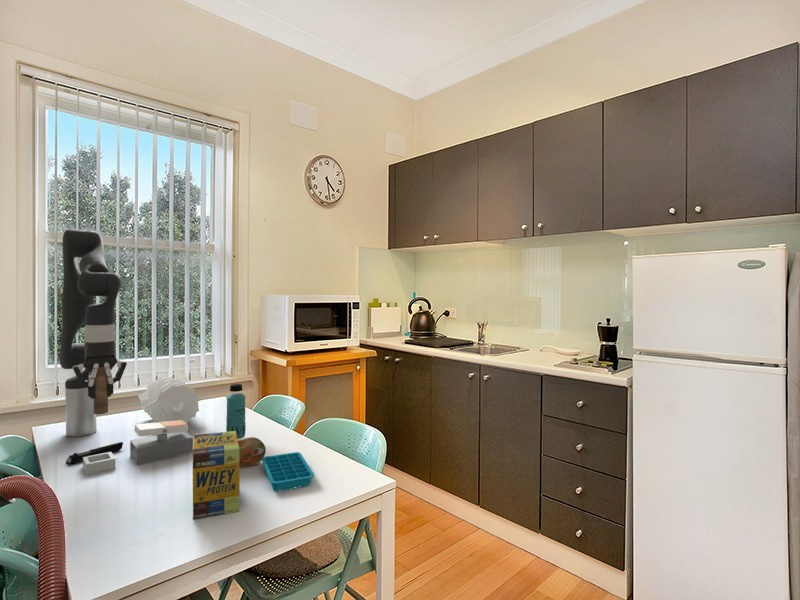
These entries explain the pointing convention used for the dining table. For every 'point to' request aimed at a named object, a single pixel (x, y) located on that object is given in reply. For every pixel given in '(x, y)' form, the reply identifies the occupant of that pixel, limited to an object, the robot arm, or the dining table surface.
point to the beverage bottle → (236, 411)
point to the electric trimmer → (93, 453)
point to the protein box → (215, 474)
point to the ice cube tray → (287, 471)
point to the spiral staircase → (169, 400)
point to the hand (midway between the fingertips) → (100, 397)
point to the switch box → (160, 447)
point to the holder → (98, 463)
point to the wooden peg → (100, 391)
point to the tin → (250, 451)
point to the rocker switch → (161, 428)
